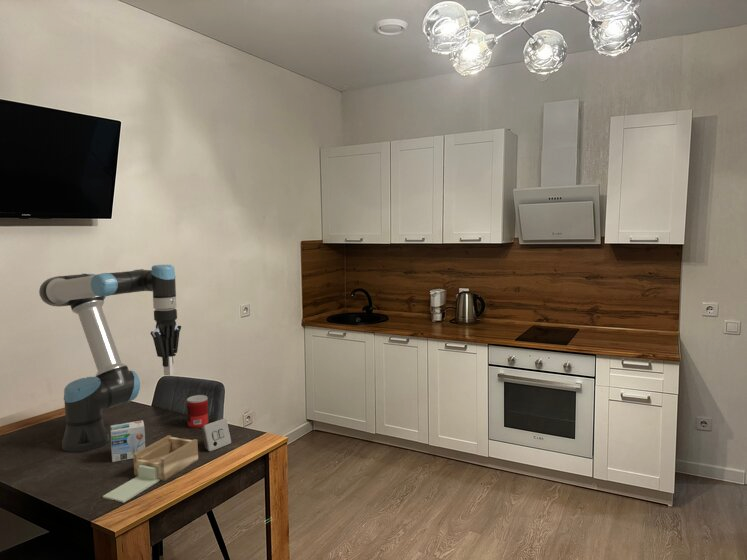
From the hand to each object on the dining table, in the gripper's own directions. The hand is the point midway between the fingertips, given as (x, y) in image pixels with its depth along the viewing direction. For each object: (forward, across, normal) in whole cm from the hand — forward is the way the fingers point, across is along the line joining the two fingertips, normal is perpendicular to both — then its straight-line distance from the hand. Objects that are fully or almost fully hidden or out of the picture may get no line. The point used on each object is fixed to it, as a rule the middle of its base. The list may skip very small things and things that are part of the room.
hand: (168, 374), depth 186 cm
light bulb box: (+27, -11, +9) cm, 30 cm away
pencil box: (+26, -14, -10) cm, 32 cm away
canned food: (+27, +20, +4) cm, 34 cm away
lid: (+27, -29, -10) cm, 41 cm away
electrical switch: (+27, +5, -15) cm, 31 cm away
